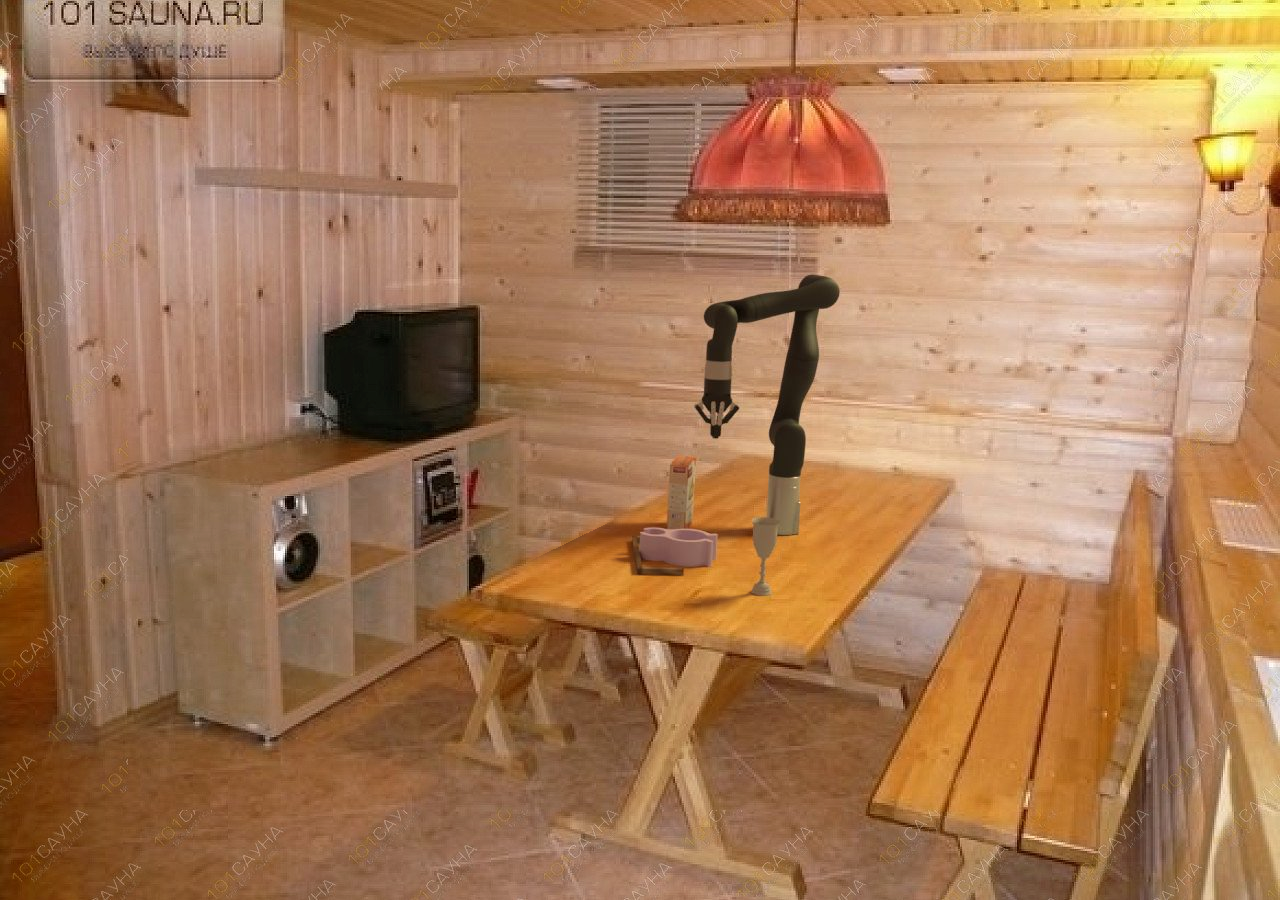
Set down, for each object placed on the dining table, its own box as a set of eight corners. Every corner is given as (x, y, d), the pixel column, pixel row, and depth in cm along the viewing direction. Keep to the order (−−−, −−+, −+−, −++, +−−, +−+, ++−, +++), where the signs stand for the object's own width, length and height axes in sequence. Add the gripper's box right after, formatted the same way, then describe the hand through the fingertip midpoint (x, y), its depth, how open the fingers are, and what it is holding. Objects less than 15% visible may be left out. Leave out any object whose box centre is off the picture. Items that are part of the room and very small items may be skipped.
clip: (635, 561, 286) (636, 536, 284) (646, 548, 298) (647, 524, 296) (709, 569, 281) (710, 544, 280) (718, 556, 293) (719, 531, 292)
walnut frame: (673, 542, 304) (673, 536, 304) (683, 575, 275) (683, 569, 275) (632, 541, 304) (632, 536, 303) (637, 574, 275) (637, 568, 274)
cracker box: (686, 536, 310) (689, 465, 306) (665, 534, 311) (668, 463, 307) (693, 524, 324) (696, 455, 319) (673, 522, 325) (676, 454, 321)
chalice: (745, 587, 268) (749, 516, 264) (772, 587, 268) (776, 517, 265) (750, 597, 261) (754, 525, 257) (778, 597, 261) (782, 525, 258)
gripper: (739, 375, 304) (736, 435, 307) (692, 374, 303) (690, 435, 306) (743, 379, 296) (740, 441, 300) (696, 378, 295) (693, 440, 299)
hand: (715, 438), depth 303 cm, fingers closed
